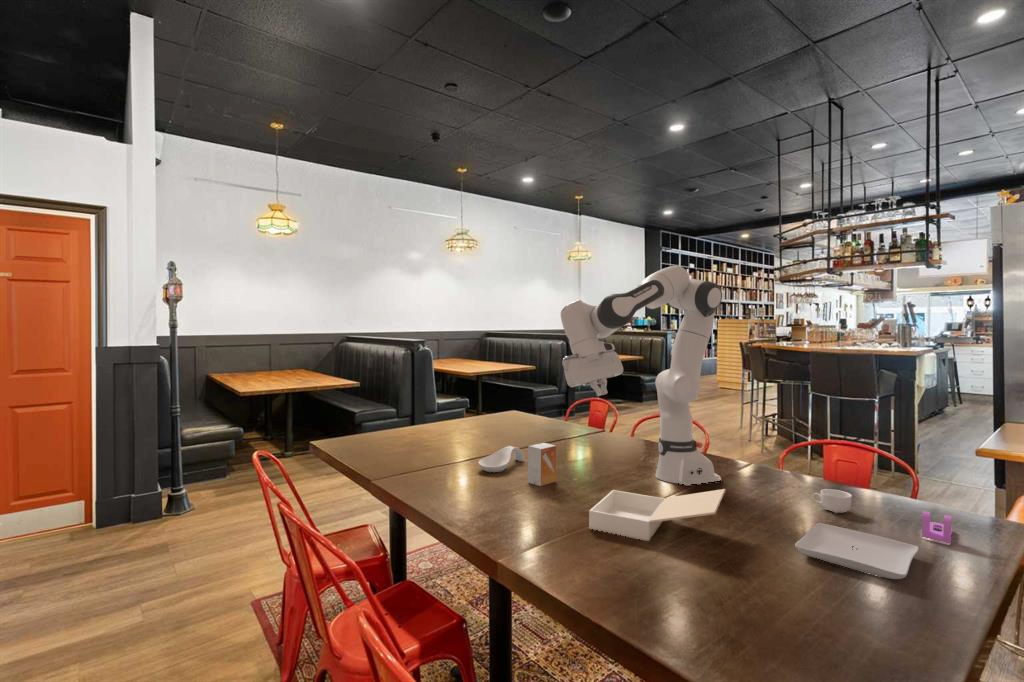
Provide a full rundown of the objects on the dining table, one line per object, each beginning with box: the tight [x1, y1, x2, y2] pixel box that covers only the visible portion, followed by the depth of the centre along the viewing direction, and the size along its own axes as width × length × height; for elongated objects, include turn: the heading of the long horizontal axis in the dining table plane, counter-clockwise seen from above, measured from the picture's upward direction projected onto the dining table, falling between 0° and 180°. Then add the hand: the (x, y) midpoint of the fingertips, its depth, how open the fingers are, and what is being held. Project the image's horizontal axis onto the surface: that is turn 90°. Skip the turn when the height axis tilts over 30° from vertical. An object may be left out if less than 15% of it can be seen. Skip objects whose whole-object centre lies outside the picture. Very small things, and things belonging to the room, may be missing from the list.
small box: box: [527, 442, 557, 487], centre depth 176 cm, size 8×6×13 cm
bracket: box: [921, 510, 953, 543], centre depth 131 cm, size 13×6×7 cm, turn 137°
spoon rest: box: [477, 445, 525, 474], centre depth 195 cm, size 24×12×7 cm, turn 146°
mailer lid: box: [650, 488, 726, 522], centre depth 131 cm, size 16×20×1 cm
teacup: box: [811, 488, 853, 513], centre depth 149 cm, size 10×8×5 cm
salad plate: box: [794, 522, 920, 580], centre depth 118 cm, size 21×21×3 cm
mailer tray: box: [588, 489, 667, 542], centre depth 139 cm, size 16×20×5 cm
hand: (602, 394), depth 150 cm, fingers closed
